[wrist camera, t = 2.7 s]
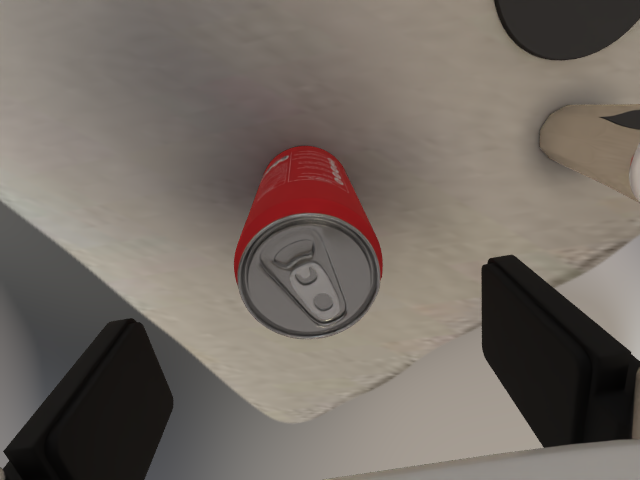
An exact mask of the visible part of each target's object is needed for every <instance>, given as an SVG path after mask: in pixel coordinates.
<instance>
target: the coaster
mask: <svg viewBox="0 0 640 480" xmlns="http://www.w3.org/2000/svg"><path fill="white" fill-rule="evenodd" d="M495 4H496V8H497V11H498V15H499V17H500V20H501V22H502V24H503V26H504V28H505V29H506V31H507V33H508V34H509V36H510V37H511V38H512V39H513V40H514V41H515V42H516V44H518V45H519V46H520V47H521V48H523V49H524V50H525V51H527V52H529V53H531V54H532V55H535V56H538V57H541V58H545V59H550V60H569V59H577V58H581V57H585V56H588V55H590V54H593V53H595V52H598V51H600V50H602V49H603V48H605V47H607V46H609V45H610V44H612V43H613V42H615V41H616V40H618V39H619V38H620V37H621V36H622V35H624V34H625V33H626V32H627V31H628V30H629V29H630V28H631V27H632V26H633V25H634V24H635V23H636V22H637V21H638V20H639V19H640V0H495Z"/></svg>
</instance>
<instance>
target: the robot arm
mask: <svg viewBox="0 0 640 480" xmlns="http://www.w3.org/2000/svg"><path fill="white" fill-rule="evenodd" d="M482 349H483V353H484V356H485V358H486V360H487V362H488V363H489V365H490V366H491V368H492V369H493V371H494V372H495V374H496V375H497V377H498V379H499V380H500V382H501V383H502V385H503V386H504V388H505V389H506V390H507V392H508V394H509V395H510V397H511V398H512V400H513V401H514V403H515V404H516V406H517V407H518V409H519V410H520V412H521V414H522V415H523V416H524V418H525V420H526V421H527V422H528V424H529V426H530V427H531V429H532V430H533V432H534V433H535V435H536V436H537V438H538V439H539V441H540V442H541V444H542V445H543V447H544V448H540V449H533V450H524V451H517V452H509V453H501V454H493V455H487V456H480V457H473V458H466V459H459V460H452V461H446V462H439V463H432V464H425V465H418V466H411V467H404V468H398V469H391V470H384V471H377V472H370V473H364V474H357V475H351V476H344V477H337V478H331V479H325V480H640V361H639V360H637V359H636V358H635V357H634V356H633V355H631V352H630V351H629V350H628V349H627V348H626V347H624V346H623V345H622V344H621V343H619V342H618V341H617V340H616V339H615V338H613V337H612V336H611V335H610V334H609V333H607V332H606V331H605V330H603V328H601V327H600V326H599V325H598V324H597V323H595V322H594V321H593V320H592V319H590V318H589V317H588V316H587V315H586V314H584V313H583V312H582V311H581V310H579V309H578V308H577V307H576V306H575V305H573V304H572V303H571V302H570V301H569V300H567V299H566V298H565V297H564V296H562V295H561V294H560V293H559V292H558V291H556V290H555V289H554V288H553V287H552V286H550V285H549V284H548V283H547V282H546V281H544V280H543V279H542V278H541V277H539V276H538V275H537V274H536V273H535V272H533V271H532V270H531V269H530V268H529V267H527V266H526V265H525V264H524V263H523V262H521V261H520V260H519V259H518V258H516V257H515V256H514V255H507V256H501V257H495V258H490V259H489V260H488V264H486V265H483V266H482ZM172 409H173V396H172V394H171V391H170V389H169V386H168V384H167V381H166V379H165V377H164V374H163V372H162V369H161V367H160V365H159V362H158V360H157V358H156V355H155V353H154V350H153V348H152V345H151V343H150V340H149V338H148V336H147V333H146V331H145V328H144V326H143V325H142V324H141V323H140V322H136V321H135V320H134V319H132V318H130V319H124V320H118V321H112V322H109V323H108V324H107V325H106V326H105V327H104V329H103V330H102V331H101V332H100V333H99V335H98V336H97V337H96V338H95V340H94V341H93V342H92V343H91V345H90V346H89V347H88V348H87V349H86V351H85V352H84V353H83V354H82V356H81V357H80V358H79V359H78V360H77V362H76V363H75V364H74V365H73V367H72V368H71V369H70V370H69V372H68V373H67V374H66V375H65V376H64V378H63V379H62V380H61V381H60V383H59V384H58V385H57V386H56V387H55V389H54V390H53V391H52V392H51V394H50V395H49V396H48V397H47V398H46V400H45V401H44V402H43V403H42V405H41V406H40V407H39V408H38V410H37V411H36V412H35V413H34V414H33V416H32V417H31V418H30V420H29V421H28V422H27V423H26V424H25V425H24V427H23V428H22V429H21V430H20V432H19V433H18V434H17V435H16V436H15V438H14V439H13V440H12V441H11V443H10V444H9V445H8V446H7V448H6V449H5V450H4V451H3V452H4V453H5V455H6V456H7V458H8V459H9V462H8V463H7V465H6V466H5V467H4V468H3V469H2V468H1V467H0V480H144V479H145V476H146V474H147V472H148V469H149V466H150V464H151V462H152V459H153V457H154V454H155V452H156V449H157V447H158V444H159V442H160V439H161V437H162V434H163V432H164V429H165V427H166V424H167V422H168V419H169V417H170V414H171V412H172Z"/></svg>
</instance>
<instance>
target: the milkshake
mask: <svg viewBox="0 0 640 480" xmlns="http://www.w3.org/2000/svg"><path fill="white" fill-rule="evenodd" d="M539 147H540V148H541V149H542V151H543V152H544V153H545V154H546V155H547V157H548V158H549V159H551V160H553V161H555V162H557V163H559V164H561V165H564V166H566V167H568V168H570V169H572V170H574V171H576V172H578V173H580V174H582V175H585V176H587V177H589V178H591V179H593V180H595V181H597V182H599V183H602V184H604V185H606V186H608V187H610V188H612V189H614V190H616V191H617V192H619V193H621V194H623V195H625V196H627V197H629V198H631V199H633V200H635V201H636V202H638V203H640V104H610V105H566V106H564V107H563V108H561V109H559V110H557V111H555V112H553V113H552V114H550V115H549V117H548V119H547V120H546V122H545V123H544V125H543V126H542V128H541V129H540V146H539Z"/></svg>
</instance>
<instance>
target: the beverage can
mask: <svg viewBox="0 0 640 480" xmlns="http://www.w3.org/2000/svg"><path fill="white" fill-rule="evenodd" d="M382 267H383V263H382V253H381V248H380V245H379V242H378V239H377V237H376V235H375V233H374V231H373V229H372V226H371V224H370V222H369V220H368V218H367V216H366V214H365V212H364V210H363V208H362V205H361V203H360V201H359V199H358V197H357V195H356V193H355V191H354V189H353V186H352V184H351V182H350V180H349V178H348V176H347V174H346V172H345V170H344V168H343V166H342V165H341V163H340V162H339V161H338V160H337V159H336V158H335V157H334V156H333V155H331V154H330V153H328V152H327V151H325V150H322V149H320V148H317V147H312V146H298V147H293V148H290V149H288V150H285V151H283V152H282V153H280V154H279V155H277V156H276V157H275V158H274V159H273V160H272V161H271V162H270V164H269V165H268V166H267V168H266V170H265V172H264V175H263V177H262V180H261V183H260V185H259V188H258V191H257V193H256V196H255V199H254V201H253V204H252V207H251V209H250V212H249V215H248V218H247V220H246V223H245V226H244V228H243V231H242V234H241V236H240V239H239V242H238V244H237V248H236V252H235V258H234V272H235V278H236V282H237V285H238V288H239V292H240V295H241V298H242V300H243V302H244V304H245V306H246V308H247V309H248V311H249V312H250V313H251V314H252V316H253V317H254V318H255V319H256V320H257V321H258V322H260V323H261V324H262V325H264V326H265V327H267V328H268V329H270V330H272V331H274V332H276V333H278V334H281V335H284V336H287V337H291V338H297V339H318V338H324V337H328V336H332V335H335V334H338V333H340V332H342V331H344V330H346V329H348V328H349V327H351V326H352V325H354V324H355V323H356V322H358V321H359V320H360V319H361V318H362V317H363V316H364V315H365V314H366V312H367V311H368V310H369V308H370V307H371V305H372V304H373V302H374V300H375V298H376V296H377V293H378V291H379V288H380V280H381V278H382Z"/></svg>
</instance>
